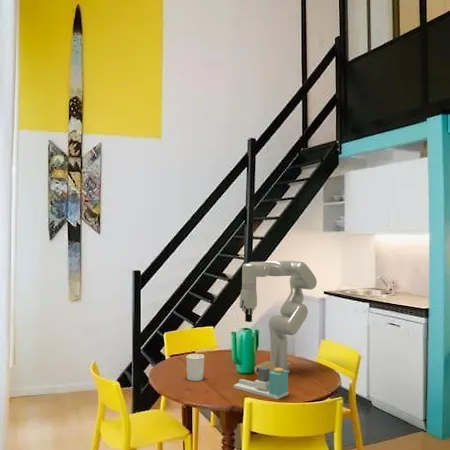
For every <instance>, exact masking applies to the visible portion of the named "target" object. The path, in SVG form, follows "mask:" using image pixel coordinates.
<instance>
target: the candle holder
mask: <svg viewBox="0 0 450 450" xmlns="http://www.w3.org/2000/svg"><path fill="white" fill-rule="evenodd" d="M185 357H186V362H185V363H186V377H187V380H188V381H192V382H199V381H202V380H203V379H204V369H205V355H204V354H201V353H190V354H187V355H186V356H185Z"/></svg>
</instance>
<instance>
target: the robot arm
mask: <svg viewBox="0 0 450 450" xmlns="http://www.w3.org/2000/svg"><path fill="white" fill-rule="evenodd" d="M241 269H242V270H241V274H242V275H241V290H240V294H239V296H240V297H239V309H241V311H242V312H244V314H245V316H244V321H245V322H246V323H251V322H253V313H254V311H255V310H256V308H257V305H258V293H257V277H259V278H265V277H268V276H269V277H289V278H290V279H289V288H290V293H289V295H288V296H287V298H286V299H285V301H284V303H283V304H282V305H281V308H280V314H281V315H279V314H276V315H272V316H271V317H270V318H269V321H268V328H269V334H270V335H269V337H270V338H269V339H270V341H269V342H270V348H269V349H270V350H269V351H270V352H269V353H270V355H269V358H270V359H269V361H271V362H273V363H274V364H275V366H276V368H283V369H284V370H287V371H288V375H289V374H290V373H291V372H290V371H291V370H290V369H289V368H288V367H290V366H291V362H289V361H288V338H287V335H288V336H294V335H296V334H297V333H298V332H299V330H300V328H301V327H302V325H303V323H304V322H305V321H306V319H307V317H308V312H309V311H308V306H307V305H306V304H304V303H303V301H304V298H305V297H304V294H303V290H307V291H308V290H314V289H315V288H316V287H317V284H318V282H317V278H316V275H315V274H314V273H313V271H312V269H310V267H309V266H308V265H307V264H306V263H305V262H303V261H295V260H280V261H279V260H278V261H277V260H271V261H249V262H248V263H243V264H242V268H241Z"/></svg>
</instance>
